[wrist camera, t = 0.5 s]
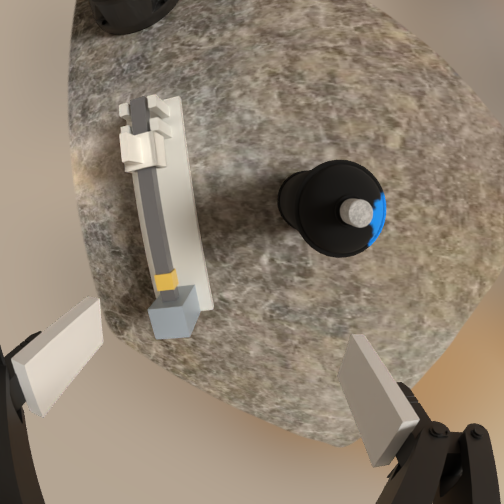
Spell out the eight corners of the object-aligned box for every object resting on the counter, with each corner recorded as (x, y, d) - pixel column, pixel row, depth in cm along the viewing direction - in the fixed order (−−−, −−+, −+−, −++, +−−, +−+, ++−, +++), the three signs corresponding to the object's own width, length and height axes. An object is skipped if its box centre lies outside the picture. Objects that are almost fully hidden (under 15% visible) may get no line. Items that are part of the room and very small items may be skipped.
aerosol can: (274, 228, 39) (296, 268, 20) (279, 167, 38) (307, 146, 18) (333, 233, 39) (401, 274, 20) (339, 174, 38) (414, 165, 18)
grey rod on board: (128, 112, 36) (100, 96, 27) (181, 98, 35) (162, 76, 27) (162, 311, 42) (143, 340, 33) (213, 306, 42) (204, 335, 33)
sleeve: (134, 143, 33) (105, 133, 25) (163, 136, 33) (140, 123, 25) (137, 173, 34) (109, 170, 26) (167, 166, 34) (144, 161, 26)
